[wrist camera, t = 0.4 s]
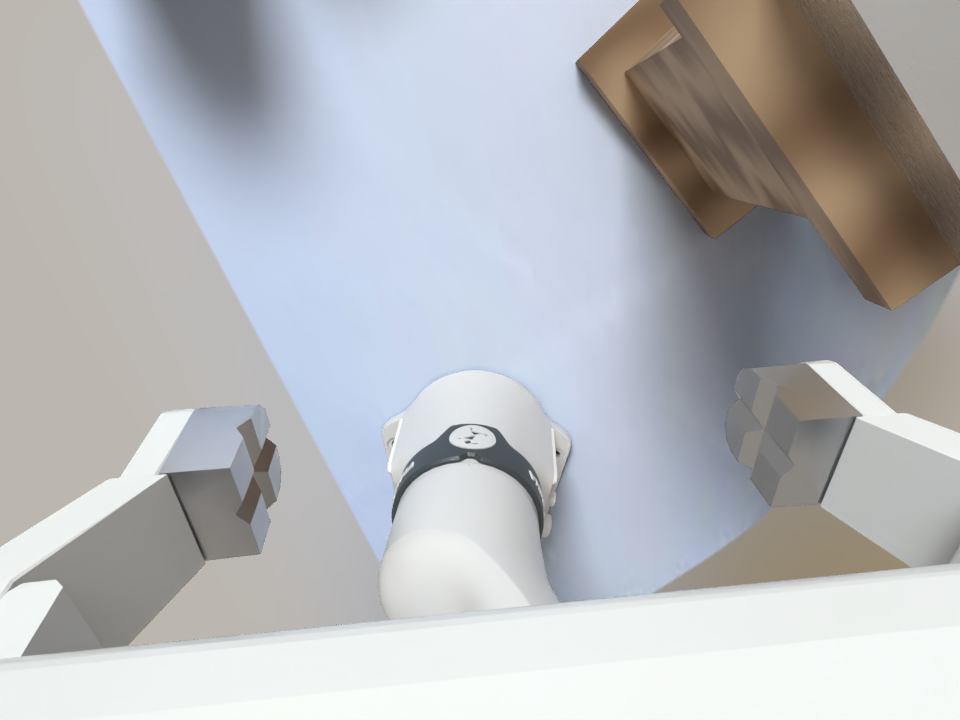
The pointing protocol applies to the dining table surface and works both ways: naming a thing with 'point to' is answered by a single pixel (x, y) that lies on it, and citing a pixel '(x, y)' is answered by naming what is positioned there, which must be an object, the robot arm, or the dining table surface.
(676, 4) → the walnut stand
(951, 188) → the aluminium bar
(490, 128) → the dining table surface
